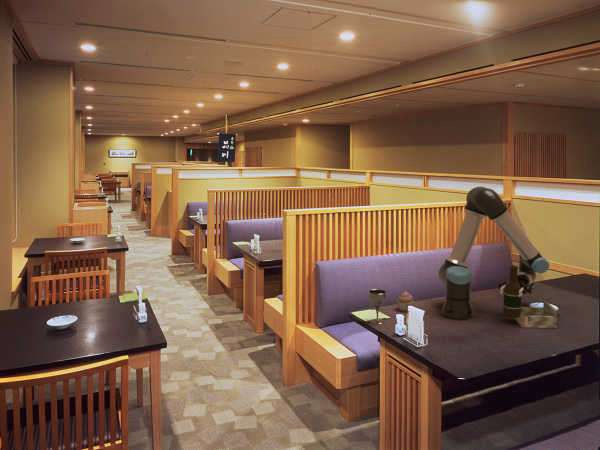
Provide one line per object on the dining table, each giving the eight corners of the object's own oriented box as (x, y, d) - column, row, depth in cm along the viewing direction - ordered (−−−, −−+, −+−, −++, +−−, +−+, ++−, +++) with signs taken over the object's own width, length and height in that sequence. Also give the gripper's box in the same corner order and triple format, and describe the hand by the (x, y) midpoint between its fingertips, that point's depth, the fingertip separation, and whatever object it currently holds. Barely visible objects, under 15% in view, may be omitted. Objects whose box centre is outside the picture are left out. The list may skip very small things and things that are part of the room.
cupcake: (410, 306, 251) (411, 288, 249) (417, 312, 242) (417, 293, 240) (393, 307, 250) (394, 289, 248) (399, 313, 240) (399, 294, 239)
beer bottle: (522, 318, 220) (525, 268, 216) (504, 317, 221) (507, 268, 218) (518, 313, 227) (520, 264, 224) (501, 312, 229) (503, 264, 225)
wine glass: (381, 325, 224) (382, 294, 222) (366, 322, 229) (366, 292, 226) (388, 320, 231) (388, 290, 229) (373, 317, 235) (373, 288, 233)
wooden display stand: (521, 327, 218) (522, 310, 216) (512, 317, 231) (513, 300, 230) (556, 328, 216) (557, 310, 215) (545, 317, 229) (546, 301, 228)
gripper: (544, 291, 231) (533, 304, 213) (500, 285, 243) (487, 296, 225) (544, 276, 230) (534, 288, 212) (501, 271, 242) (487, 281, 224)
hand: (510, 292), depth 218 cm, fingers closed on beer bottle, 7 cm apart
